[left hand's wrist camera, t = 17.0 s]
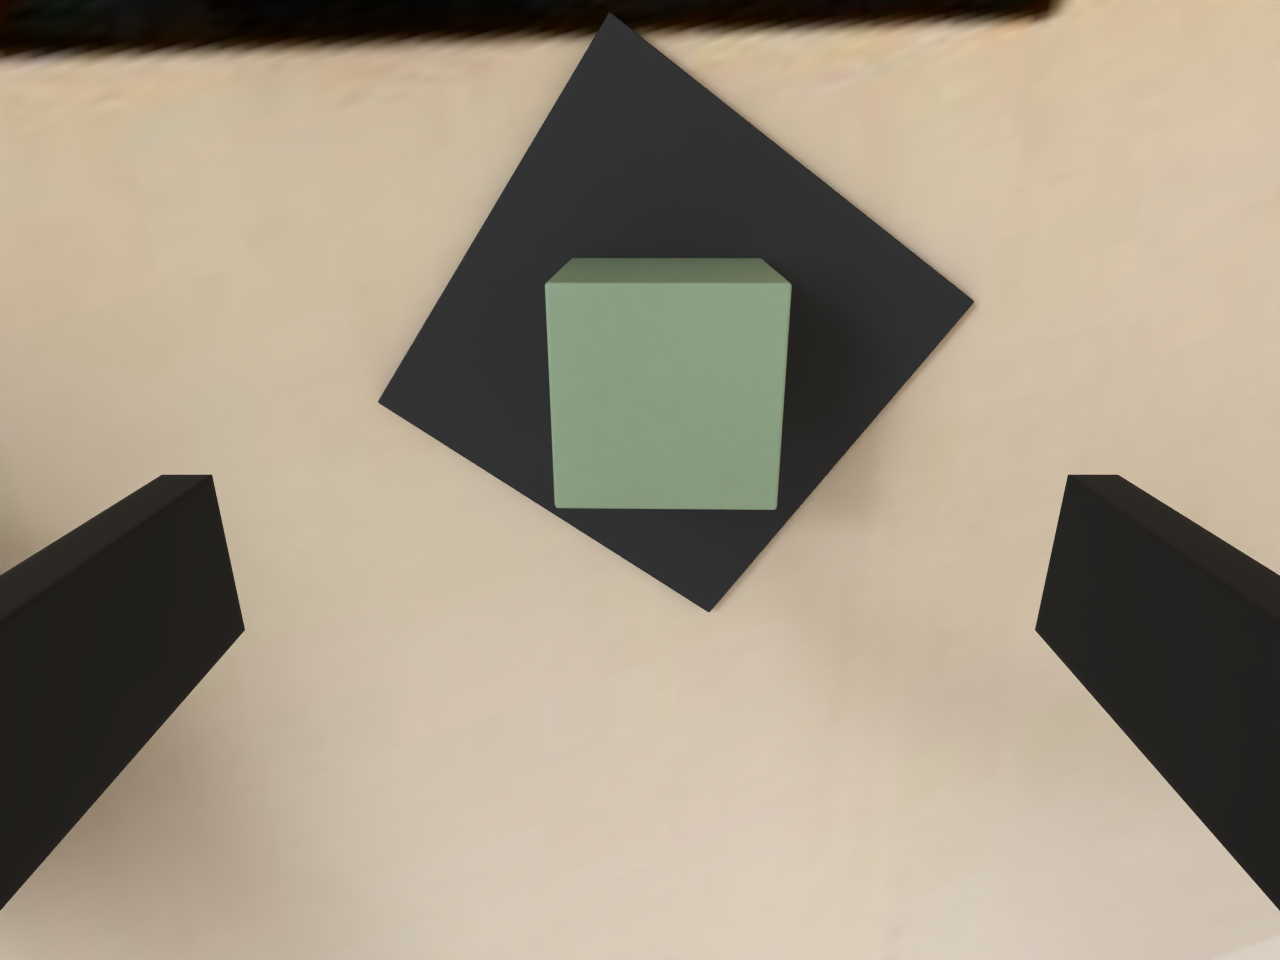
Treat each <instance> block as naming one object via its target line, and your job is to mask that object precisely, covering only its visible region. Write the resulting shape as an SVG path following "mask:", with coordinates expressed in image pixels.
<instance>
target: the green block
mask: <svg viewBox="0 0 1280 960" xmlns="http://www.w3.org/2000/svg"><path fill="white" fill-rule="evenodd" d="M791 289H792V286H791V283H790V282H788V281H787V280H786V279H785V278H784V277H782V276H781V275H780V274H779V273H778V272H777V271H775V270H774V269H773V268H772V267H771V266H769V265H768V264H767V263H766V262H765V261H764V260H762V259H761V258H573V259H571V260H570V261H569V262H568V263H567V264H566V265H565V266H563V267H562V268H561V269H560V270H559V271H558V272H557V273H556V274H555V275H554V276H553V277H552V278H551V279H550V280H549V281H548V282H547V283H546V284H545V300H546V322H547V344H548V366H549V388H550V410H551V432H552V454H553V476H554V498H555V506H556V508H612V509H733V510H775V509H776V507H777V497H778V482H779V467H780V452H781V437H782V422H783V408H784V393H785V378H786V363H787V348H788V334H789V319H790V304H791Z"/></svg>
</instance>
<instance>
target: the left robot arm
mask: <svg viewBox="0 0 1280 960" xmlns="http://www.w3.org/2000/svg"><path fill="white" fill-rule="evenodd" d="M244 630H245V628H244V623H243V619H242V614H241V609H240V605H239V600H238V595H237V591H236V586H235V581H234V576H233V572H232V567H231V562H230V558H229V553H228V548H227V543H226V539H225V534H224V529H223V525H222V520H221V515H220V510H219V506H218V501H217V496H216V492H215V487H214V482H213V477H212V475H161V476H159V477H158V478H156V479H155V480H153V481H151V482H150V483H148V484H146V485H145V486H143V487H142V488H140V489H138V490H137V491H135V492H134V493H132V494H130V495H129V496H127V497H126V498H124V499H122V500H121V501H119V502H118V503H116V504H114V505H113V506H111V507H110V508H108V509H106V510H105V511H103V512H102V513H100V514H98V515H97V516H95V517H94V518H92V519H90V520H89V521H87V522H86V523H84V524H82V525H81V526H79V527H78V528H76V529H74V530H73V531H71V532H69V533H68V534H66V535H65V536H63V537H61V538H60V539H58V540H57V541H55V542H53V543H52V544H50V545H49V546H47V547H45V548H44V549H42V550H41V551H39V552H37V553H36V554H34V555H33V556H31V557H29V558H28V559H26V560H25V561H23V562H21V563H20V564H18V565H17V566H15V567H13V568H12V569H10V570H9V571H7V572H5V573H4V574H2V575H0V910H1V909H2V908H3V907H4V906H5V904H6V903H7V902H8V901H9V900H10V899H11V898H12V896H13V895H14V894H15V893H16V892H17V891H18V890H19V888H20V887H21V886H22V885H23V884H24V883H25V882H26V880H27V879H28V878H29V877H30V876H31V875H32V874H33V872H34V871H35V870H36V869H37V868H38V867H39V865H40V864H41V863H42V862H43V861H44V860H45V859H46V857H47V856H48V855H49V854H50V853H51V852H52V851H53V849H54V848H55V847H56V846H57V845H58V844H59V843H60V841H61V840H62V839H63V838H64V837H65V836H66V835H67V833H68V832H69V831H70V830H71V829H72V828H73V827H74V825H75V824H76V823H77V822H78V821H79V820H80V818H81V817H82V816H83V815H84V814H85V813H86V812H87V810H88V809H89V808H90V807H91V806H92V805H93V804H94V802H95V801H96V800H97V799H98V798H99V797H100V796H101V794H102V793H103V792H104V791H105V790H106V789H107V788H108V786H109V785H110V784H111V783H112V782H113V781H114V779H115V778H116V777H117V776H118V775H119V774H120V773H121V771H122V770H123V769H124V768H125V767H126V766H127V765H128V763H129V762H130V761H131V760H132V759H133V758H134V757H135V755H136V754H137V753H138V752H139V751H140V750H141V749H142V747H143V746H144V745H145V744H146V743H147V742H148V741H149V739H150V738H151V737H152V736H153V735H154V734H155V732H156V731H157V730H158V729H159V728H160V727H161V726H162V724H163V723H164V722H165V721H166V720H167V719H168V718H169V716H170V715H171V714H172V713H173V712H174V711H175V710H176V708H177V707H178V706H179V705H180V704H181V703H182V702H183V700H184V699H185V698H186V697H187V696H188V695H189V693H190V692H191V691H192V690H193V689H194V688H195V687H196V685H197V684H198V683H199V682H200V681H201V680H202V679H203V677H204V676H205V675H206V674H207V673H208V672H209V671H210V669H211V668H212V667H213V666H214V665H215V664H216V663H217V661H218V660H219V659H220V658H221V657H222V656H223V655H224V653H225V652H226V651H227V650H228V649H229V648H230V646H231V645H232V644H233V643H234V642H235V641H236V640H237V638H238V637H239V636H240V635H241V634H242V633H243V632H244ZM1035 630H1036V632H1037V633H1038V634H1039V635H1040V636H1041V637H1042V638H1043V640H1044V641H1045V642H1046V643H1047V644H1048V645H1049V646H1050V648H1051V649H1052V650H1053V651H1054V652H1055V653H1056V655H1057V656H1058V657H1059V658H1060V659H1061V660H1062V661H1063V663H1064V664H1065V665H1066V666H1067V667H1068V668H1069V669H1070V671H1071V672H1072V673H1073V674H1074V675H1075V676H1076V677H1077V679H1078V680H1079V681H1080V682H1081V683H1082V684H1083V685H1084V687H1085V688H1086V689H1087V690H1088V691H1089V692H1090V693H1091V695H1092V696H1093V697H1094V698H1095V699H1096V700H1097V702H1098V703H1099V704H1100V705H1101V706H1102V707H1103V708H1104V710H1105V711H1106V712H1107V713H1108V714H1109V715H1110V716H1111V718H1112V719H1113V720H1114V721H1115V722H1116V723H1117V724H1118V726H1119V727H1120V728H1121V729H1122V730H1123V731H1124V732H1125V734H1126V735H1127V736H1128V737H1129V738H1130V739H1131V741H1132V742H1133V743H1134V744H1135V745H1136V746H1137V747H1138V749H1139V750H1140V751H1141V752H1142V753H1143V754H1144V755H1145V757H1146V758H1147V759H1148V760H1149V761H1150V762H1151V763H1152V765H1153V766H1154V767H1155V768H1156V769H1157V770H1158V771H1159V773H1160V774H1161V775H1162V776H1163V777H1164V778H1165V779H1166V781H1167V782H1168V783H1169V784H1170V785H1171V786H1172V788H1173V789H1174V790H1175V791H1176V792H1177V793H1178V794H1179V796H1180V797H1181V798H1182V799H1183V800H1184V801H1185V802H1186V804H1187V805H1188V806H1189V807H1190V808H1191V809H1192V810H1193V812H1194V813H1195V814H1196V815H1197V816H1198V817H1199V818H1200V820H1201V821H1202V822H1203V823H1204V824H1205V825H1206V827H1207V828H1208V829H1209V830H1210V831H1211V832H1212V833H1213V835H1214V836H1215V837H1216V838H1217V839H1218V840H1219V841H1220V843H1221V844H1222V845H1223V846H1224V847H1225V848H1226V849H1227V851H1228V852H1229V853H1230V854H1231V855H1232V856H1233V857H1234V859H1235V860H1236V861H1237V862H1238V863H1239V864H1240V866H1241V867H1242V868H1243V869H1244V870H1245V871H1246V872H1247V874H1248V875H1249V876H1250V877H1251V878H1252V879H1253V880H1254V882H1255V883H1256V884H1257V885H1258V886H1259V887H1260V888H1261V890H1262V891H1263V892H1264V893H1265V894H1266V895H1267V896H1268V898H1269V899H1270V900H1271V901H1272V902H1273V903H1274V904H1275V906H1276V907H1277V908H1278V909H1279V910H1280V576H1279V575H1278V574H1276V573H1275V572H1273V571H1271V570H1270V569H1268V568H1267V567H1265V566H1263V565H1262V564H1260V563H1259V562H1257V561H1255V560H1254V559H1252V558H1251V557H1249V556H1247V555H1246V554H1244V553H1243V552H1241V551H1239V550H1238V549H1236V548H1235V547H1233V546H1231V545H1230V544H1228V543H1227V542H1225V541H1223V540H1222V539H1220V538H1219V537H1217V536H1215V535H1214V534H1212V533H1211V532H1209V531H1207V530H1206V529H1204V528H1202V527H1201V526H1199V525H1198V524H1196V523H1194V522H1193V521H1191V520H1190V519H1188V518H1186V517H1185V516H1183V515H1182V514H1180V513H1178V512H1177V511H1175V510H1174V509H1172V508H1170V507H1169V506H1167V505H1166V504H1164V503H1162V502H1161V501H1159V500H1158V499H1156V498H1154V497H1153V496H1151V495H1150V494H1148V493H1146V492H1145V491H1143V490H1142V489H1140V488H1138V487H1137V486H1135V485H1134V484H1132V483H1130V482H1129V481H1127V480H1125V479H1124V478H1122V477H1121V476H1119V475H1068V477H1067V482H1066V487H1065V492H1064V496H1063V501H1062V506H1061V510H1060V515H1059V520H1058V525H1057V529H1056V534H1055V539H1054V543H1053V548H1052V553H1051V558H1050V562H1049V567H1048V572H1047V576H1046V581H1045V586H1044V590H1043V595H1042V600H1041V605H1040V609H1039V614H1038V619H1037V623H1036V628H1035Z"/></svg>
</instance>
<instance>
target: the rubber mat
mask: <svg viewBox="0 0 1280 960" xmlns="http://www.w3.org/2000/svg"><path fill="white" fill-rule="evenodd" d="M573 258H761V259H762V260H764V261H765V262H766V263H767V264H768V265H769V266H771V267H772V268H773V269H774V270H775V271H777V272H778V273H779V274H780V275H781V276H782V277H784V278H785V279H786V280H787V281H788V282H790V283H791V286H792V289H791V304H790V319H789V334H788V348H787V363H786V378H785V393H784V408H783V422H782V437H781V452H780V467H779V482H778V497H777V507H776V509H775V510H733V509H612V508H556V506H555V498H554V476H553V454H552V432H551V410H550V388H549V366H548V344H547V322H546V300H545V284H546V283H547V282H548V281H549V280H550V279H551V278H552V277H553V276H554V275H555V274H556V273H557V272H558V271H559V270H560V269H561V268H562V267H563V266H565V265H566V264H567V263H568V262H569V261H570V260H571V259H573ZM973 303H974V301H973V300H972V299H971V298H970V297H968V296H967V295H966V294H965V293H963V292H962V291H961V290H959V289H958V288H957V287H956V286H954V285H953V284H952V283H951V282H949V281H948V280H947V279H946V278H944V277H943V276H942V275H941V274H939V273H938V272H937V271H936V270H934V269H933V268H932V267H930V266H929V265H928V264H927V263H925V262H924V261H923V260H922V259H920V258H919V257H918V256H917V255H915V254H914V253H913V252H912V251H910V250H909V249H908V248H907V247H905V246H904V245H903V244H901V243H900V242H899V241H898V240H896V239H895V238H894V237H893V236H891V235H890V234H889V233H888V232H886V231H885V230H884V229H883V228H881V227H880V226H879V225H878V224H876V223H875V222H874V221H873V220H871V219H870V218H869V217H867V216H866V215H865V214H864V213H862V212H861V211H860V210H859V209H857V208H856V207H855V206H854V205H852V204H851V203H850V202H849V201H847V200H846V199H845V198H844V197H842V196H841V195H840V194H838V193H837V192H836V191H835V190H833V189H832V188H831V187H830V186H828V185H827V184H826V183H825V182H823V181H822V180H821V179H820V178H818V177H817V176H816V175H815V174H813V173H812V172H811V171H809V170H808V169H807V168H806V167H804V166H803V165H802V164H801V163H799V162H798V161H797V160H796V159H794V158H793V157H792V156H791V155H789V154H788V153H787V152H786V151H784V150H783V149H782V148H780V147H779V146H778V145H777V144H775V143H774V142H773V141H772V140H770V139H769V138H768V137H767V136H765V135H764V134H763V133H762V132H760V131H759V130H758V129H757V128H755V127H754V126H753V125H751V124H750V123H749V122H748V121H746V120H745V119H744V118H743V117H741V116H740V115H739V114H738V113H736V112H735V111H734V110H733V109H731V108H730V107H729V106H728V105H726V104H725V103H724V102H722V101H721V100H720V99H719V98H717V97H716V96H715V95H714V94H712V93H711V92H710V91H709V90H707V89H706V88H705V87H704V86H702V85H701V84H700V83H699V82H697V81H696V80H695V79H693V78H692V77H691V76H690V75H688V74H687V73H686V72H685V71H683V70H682V69H681V68H680V67H678V66H677V65H676V64H675V63H673V62H672V61H671V60H670V59H668V58H667V57H666V56H665V55H663V54H662V53H661V52H659V51H658V50H657V49H656V48H654V47H653V46H652V45H651V44H649V43H648V42H647V41H646V40H644V39H643V38H642V37H641V36H639V35H638V34H637V33H636V32H634V31H633V30H632V29H630V28H629V27H628V26H627V25H625V24H624V23H623V22H622V21H620V20H619V19H618V18H617V17H615V16H614V15H613V14H612V13H609V14H608V15H607V17H606V19H605V20H604V22H603V24H602V26H601V27H600V29H599V31H598V32H597V34H596V36H595V37H594V39H593V41H592V42H591V44H590V46H589V47H588V49H587V51H586V52H585V54H584V56H583V58H582V59H581V61H580V63H579V64H578V66H577V68H576V69H575V71H574V73H573V74H572V76H571V78H570V79H569V81H568V83H567V84H566V86H565V88H564V89H563V91H562V93H561V95H560V96H559V98H558V100H557V101H556V103H555V105H554V106H553V108H552V110H551V111H550V113H549V115H548V116H547V118H546V120H545V121H544V123H543V125H542V127H541V128H540V130H539V132H538V133H537V135H536V137H535V138H534V140H533V142H532V143H531V145H530V147H529V148H528V150H527V152H526V153H525V155H524V157H523V159H522V160H521V162H520V164H519V165H518V167H517V169H516V170H515V172H514V174H513V175H512V177H511V179H510V180H509V182H508V184H507V185H506V187H505V189H504V190H503V192H502V194H501V196H500V197H499V199H498V201H497V202H496V204H495V206H494V207H493V209H492V211H491V212H490V214H489V216H488V217H487V219H486V221H485V222H484V224H483V226H482V228H481V229H480V231H479V233H478V234H477V236H476V238H475V239H474V241H473V243H472V244H471V246H470V248H469V249H468V251H467V253H466V254H465V256H464V258H463V260H462V261H461V263H460V265H459V266H458V268H457V270H456V271H455V273H454V275H453V276H452V278H451V280H450V281H449V283H448V285H447V286H446V288H445V290H444V292H443V293H442V295H441V297H440V298H439V300H438V302H437V303H436V305H435V307H434V308H433V310H432V312H431V313H430V315H429V317H428V318H427V320H426V322H425V323H424V325H423V327H422V329H421V330H420V332H419V334H418V335H417V337H416V339H415V340H414V342H413V344H412V345H411V347H410V349H409V350H408V352H407V354H406V355H405V357H404V359H403V361H402V362H401V364H400V366H399V367H398V369H397V371H396V372H395V374H394V376H393V377H392V379H391V381H390V382H389V384H388V386H387V387H386V389H385V391H384V393H383V394H382V396H381V398H380V399H379V401H378V402H379V403H380V404H381V405H383V406H385V407H386V408H388V409H389V410H391V411H392V412H394V413H396V414H397V415H399V416H400V417H402V418H403V419H405V420H407V421H408V422H410V423H411V424H413V425H414V426H416V427H418V428H419V429H421V430H422V431H424V432H425V433H427V434H429V435H430V436H432V437H433V438H435V439H437V440H438V441H440V442H441V443H443V444H444V445H446V446H448V447H449V448H451V449H452V450H454V451H455V452H457V453H459V454H460V455H462V456H463V457H465V458H466V459H468V460H470V461H471V462H473V463H474V464H476V465H477V466H479V467H481V468H482V469H484V470H485V471H487V472H489V473H490V474H492V475H493V476H495V477H496V478H498V479H500V480H501V481H503V482H504V483H506V484H507V485H509V486H511V487H512V488H514V489H515V490H517V491H518V492H520V493H522V494H523V495H525V496H526V497H528V498H529V499H531V500H533V501H534V502H536V503H537V504H539V505H540V506H542V507H544V508H545V509H547V510H548V511H550V512H552V513H553V514H555V515H556V516H558V517H559V518H561V519H563V520H564V521H566V522H567V523H569V524H570V525H572V526H574V527H575V528H577V529H578V530H580V531H581V532H583V533H585V534H586V535H588V536H589V537H591V538H592V539H594V540H596V541H597V542H599V543H600V544H602V545H603V546H605V547H607V548H608V549H610V550H611V551H613V552H615V553H616V554H618V555H619V556H621V557H622V558H624V559H626V560H627V561H629V562H630V563H632V564H633V565H635V566H637V567H638V568H640V569H641V570H643V571H644V572H646V573H648V574H649V575H651V576H652V577H654V578H655V579H657V580H659V581H660V582H662V583H663V584H665V585H666V586H668V587H670V588H671V589H673V590H674V591H676V592H678V593H679V594H681V595H682V596H684V597H685V598H687V599H689V600H690V601H692V602H693V603H695V604H696V605H698V606H700V607H701V608H703V609H704V610H706V611H707V612H710V611H711V610H712V608H713V607H714V606H715V605H716V604H717V603H718V601H719V600H720V599H721V598H722V597H723V596H724V594H725V593H726V592H727V591H728V590H729V589H730V587H731V586H732V585H733V584H734V583H735V582H736V580H737V579H738V578H739V577H740V576H741V575H742V573H743V572H744V571H745V570H746V569H747V567H748V566H749V565H750V564H751V563H752V562H753V560H754V559H755V558H756V557H757V556H758V555H759V553H760V552H761V551H762V550H763V549H764V548H765V546H766V545H767V544H768V543H769V542H770V541H771V539H772V538H773V537H774V536H775V535H776V534H777V532H778V531H779V530H780V529H781V528H782V526H783V525H784V524H785V523H786V522H787V521H788V519H789V518H790V517H791V516H792V515H793V514H794V512H795V511H796V510H797V509H798V508H799V507H800V505H801V504H802V503H803V502H804V501H805V500H806V498H807V497H808V496H809V495H810V494H811V492H812V491H813V490H814V489H815V488H816V487H817V485H818V484H819V483H820V482H821V481H822V480H823V478H824V477H825V476H826V475H827V474H828V473H829V471H830V470H831V469H832V468H833V467H834V466H835V464H836V463H837V462H838V461H839V460H840V459H841V457H842V456H843V455H844V454H845V453H846V451H847V450H848V449H849V448H850V447H851V446H852V444H853V443H854V442H855V441H856V440H857V439H858V437H859V436H860V435H861V434H862V433H863V432H864V430H865V429H866V428H867V427H868V426H869V425H870V423H871V422H872V421H873V420H874V419H875V418H876V416H877V415H878V414H879V413H880V412H881V410H882V409H883V408H884V407H885V406H886V405H887V403H888V402H889V401H890V400H891V399H892V398H893V396H894V395H895V394H896V393H897V392H898V391H899V389H900V388H901V387H902V386H903V385H904V384H905V382H906V381H907V380H908V379H909V378H910V376H911V375H912V374H913V373H914V372H915V371H916V369H917V368H918V367H919V366H920V365H921V364H922V362H923V361H924V360H925V359H926V358H927V357H928V355H929V354H930V353H931V352H932V351H933V350H934V348H935V347H936V346H937V345H938V344H939V343H940V341H941V340H942V339H943V338H944V337H945V335H946V334H947V333H948V332H949V331H950V330H951V328H952V327H953V326H954V325H955V324H956V323H957V321H958V320H959V319H960V318H961V317H962V316H963V314H964V313H965V312H966V311H967V310H968V309H969V307H970V306H971V305H972V304H973Z"/></svg>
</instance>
